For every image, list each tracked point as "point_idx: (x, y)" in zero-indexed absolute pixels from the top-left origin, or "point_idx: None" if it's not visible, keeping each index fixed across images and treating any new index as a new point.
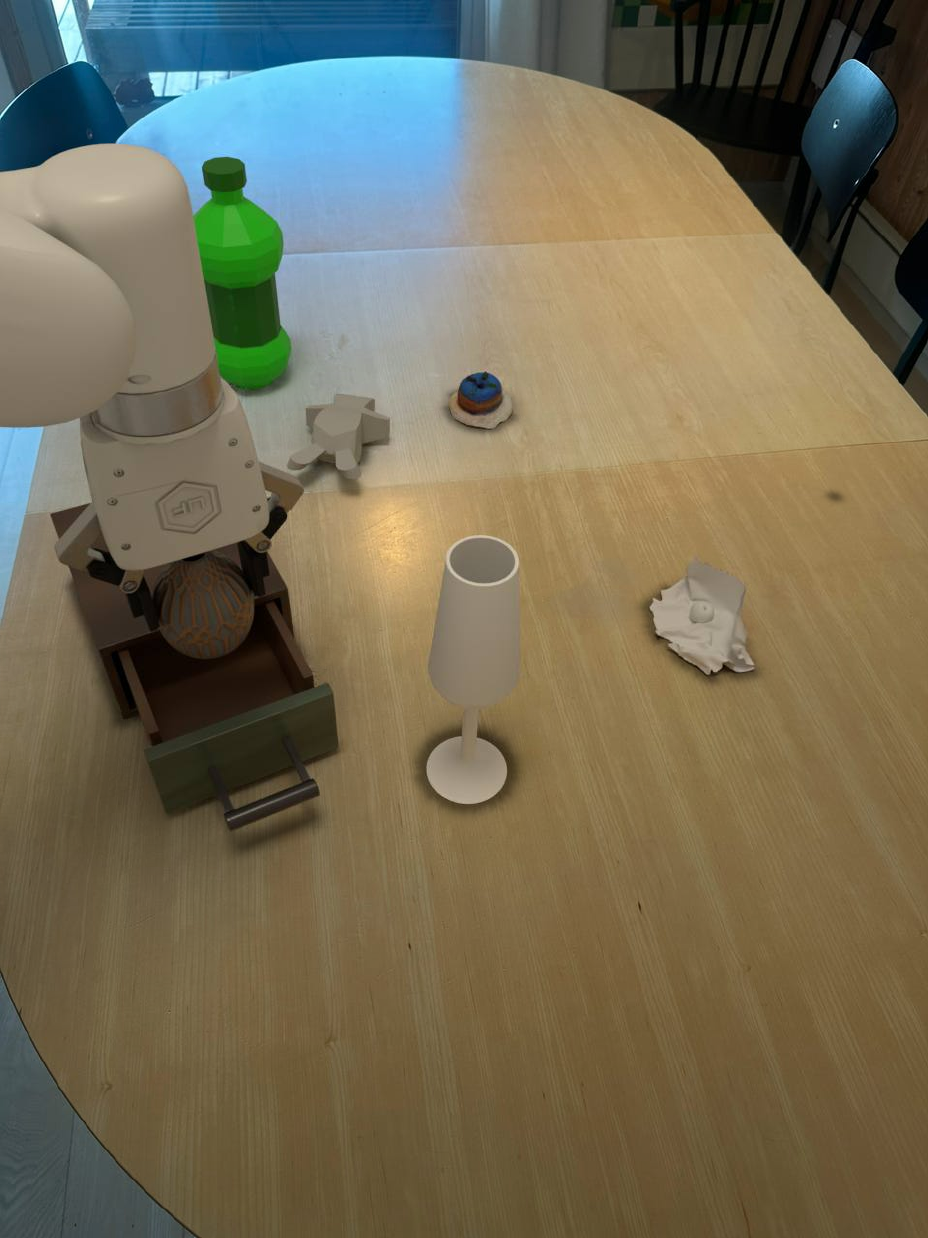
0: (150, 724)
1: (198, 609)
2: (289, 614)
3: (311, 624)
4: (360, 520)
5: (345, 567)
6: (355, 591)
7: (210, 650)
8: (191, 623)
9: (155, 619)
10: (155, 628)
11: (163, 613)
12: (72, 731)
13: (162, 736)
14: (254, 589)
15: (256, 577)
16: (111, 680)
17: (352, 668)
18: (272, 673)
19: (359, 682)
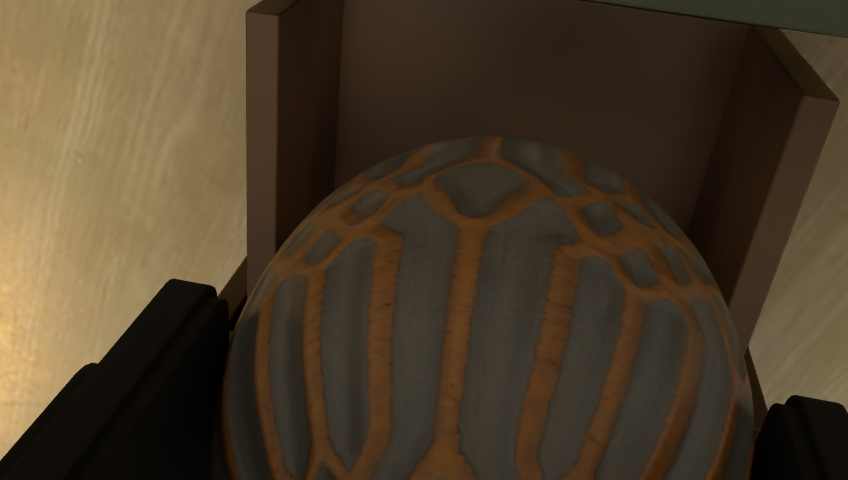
0: (810, 133)
1: (581, 369)
2: (235, 279)
3: (222, 259)
4: (24, 428)
5: (95, 347)
6: (96, 281)
7: (583, 160)
8: (649, 315)
9: (810, 454)
10: (813, 406)
11: (745, 463)
12: (840, 305)
13: (701, 156)
14: (201, 328)
15: (132, 379)
16: (747, 359)
17: (182, 93)
18: (361, 172)
19: (182, 44)
